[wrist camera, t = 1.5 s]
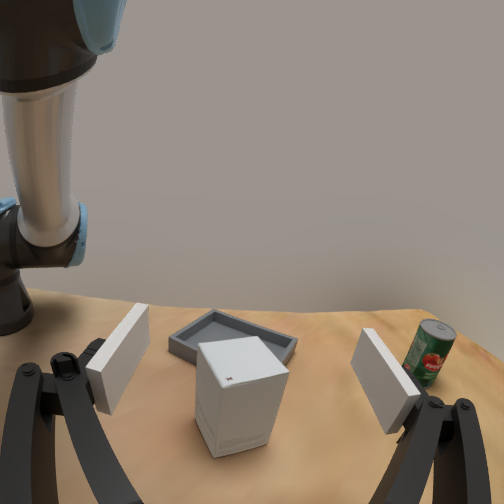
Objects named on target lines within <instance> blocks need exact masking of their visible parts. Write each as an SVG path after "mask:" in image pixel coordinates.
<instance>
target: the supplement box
mask: <svg viewBox="0 0 504 504" xmlns="http://www.w3.org/2000/svg"><path fill="white" fill-rule="evenodd" d="M288 375H289V371H288V370H287V368H286V367H285V366H284V365H283V364H282V363H281V362H280V361H279V360H278V359H277V358H276V356H275V355H274V354H273V353H272V352H271V351H270V350H269V349H268V348H267V346H266V345H265V344H264V343H263V342H262V341H261V340H260V338H259V337H258V336H253V337H245V338H238V339H230V340H223V341H215V342H206V343H198V351H197V368H196V394H195V420H196V422H197V425H198V427H199V429H200V431H201V433H202V435H203V438H204V440H205V442H206V444H207V446H208V448H209V450H210V452H211V454H212V456H213V458H216V457H221V456H225V455H230V454H234V453H238V452H242V451H245V450H249V449H253V448H256V447H259V446H262V445H265V444H267V443H268V441H269V438H270V435H271V432H272V429H273V425H274V422H275V419H276V416H277V413H278V409H279V406H280V403H281V399H282V396H283V393H284V389H285V385H286V382H287V378H288Z"/></svg>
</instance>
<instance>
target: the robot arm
mask: <svg viewBox="0 0 504 504" xmlns="http://www.w3.org/2000/svg"><path fill="white" fill-rule="evenodd" d="M126 1H127V0H0V94H1V95H2V104H3V116H4V125H5V133H6V140H7V147H8V153H9V159H10V163H11V169H12V173H13V177H14V182H15V187H16V191H17V194H18V198H19V202H20V205H16V200H15V198H14V197H9V198H2V199H0V335H6V334H10V333H13V332H16V331H18V330H20V329H22V328H23V327H25V326H26V325H27V324H28V323H29V322H30V321H31V319H32V317H33V314H34V311H33V306H32V301H31V299H30V297H29V295H28V293H27V291H26V288H25V286H24V284H23V282H22V280H21V277H20V271H19V269H21V268H49V267H50V268H51V267H64V268H68V267H71V266H78V265H80V264H81V263H82V262H83V260H84V255H85V248H86V243H85V242H86V237H87V208H86V206H85V205H84V204H80V203H78V202H77V199H76V198H75V196H74V195H73V194H72V193H71V192H70V157H71V136H72V123H73V113H74V103H75V96H76V89H77V82H78V80H79V79H81V78H82V77H83V76H85V75H86V74H87V73H89V72H90V71H91V69H92V68H93V67H94V65H95V63H96V59H97V56H98V55H101V54H103V53H108V52H110V51H112V50H113V48H114V46H115V43H116V39H117V36H118V32H119V28H120V23H121V19H122V15H123V11H124V8H125V5H126ZM149 344H150V337H149V305H146V304H140V303H136V304H135V306H134V307H133V308H132V309H131V310H130V312H129V313H128V314H127V315H126V316H125V318H124V319H123V320H122V321H121V323H120V324H119V325H118V326H117V327H116V329H115V330H114V331H113V332H112V334H111V335H110V336H109V337H108V339H107V340H105V339H101V338H98V339H96V340H94V341H92V342H91V343H90V344H89V345H88V347H87V349H85V350H84V351H83V353H82V354H81V355H80V356H79V357H78V358H77V357H76V356H75V355H74V354H72V353H69V352H61V353H57V354H56V355H54V356H53V357H52V358H51V361H50V364H51V367H52V370H53V374H50V373H42V371H41V368H40V367H39V365H37V364H35V363H25V364H22V365H21V366H20V367H19V368H18V370H17V372H16V376H15V379H14V383H13V387H12V391H11V395H10V399H9V404H8V409H7V414H6V419H5V425H4V431H3V437H2V445H1V454H0V504H59V502H58V493H57V483H56V469H55V415H62V416H64V417H65V421H66V424H67V427H68V430H69V434H70V437H71V440H72V442H73V445H74V448H75V451H76V454H77V456H78V459H79V461H80V464H81V466H82V469H83V471H84V474H85V476H86V478H87V481H88V483H89V485H90V487H91V489H92V491H93V494H94V496H95V498H96V500H97V502H98V504H144V503H143V502H142V500H141V499H140V497H139V496H138V494H137V493H136V491H135V489H134V488H133V486H132V485H131V483H130V481H129V479H128V478H127V476H126V474H125V473H124V471H123V469H122V467H121V465H120V463H119V462H118V460H117V458H116V456H115V454H114V452H113V450H112V448H111V446H110V444H109V442H108V440H107V438H106V435H105V433H104V431H103V429H102V427H101V424H100V422H99V420H98V417H97V415H96V413H95V410H94V408H93V405H94V403H95V405H96V409H97V411H99V412H102V413H105V414H108V415H112V413H113V411H114V409H115V407H116V405H117V404H118V402H119V400H120V398H121V396H122V394H123V392H124V390H125V388H126V386H127V384H128V382H129V381H130V379H131V377H132V375H133V373H134V371H135V369H136V368H137V366H138V364H139V362H140V360H141V358H142V357H143V355H144V353H145V351H146V349H147V347H148V346H149ZM351 365H352V367H353V369H354V371H355V373H356V375H357V377H358V379H359V381H360V383H361V385H362V387H363V389H364V391H365V393H366V395H367V397H368V399H369V401H370V403H371V406H372V408H373V410H374V412H375V414H376V416H377V418H378V420H379V422H380V424H381V426H382V428H383V431H384V433H385V435H386V434H392V433H398V431H399V430H400V428H401V427H402V425H403V426H404V428H405V431H404V432H403V434H402V435H401V437H400V438H399V440H398V441H397V442H396V443H397V444H398V446H397V448H396V450H395V453H394V455H393V457H392V459H391V461H390V464H389V466H388V468H387V470H386V472H385V474H384V476H383V478H382V480H381V482H380V484H379V486H378V487H377V489H376V491H375V493H374V495H373V497H372V498H371V500H370V502H369V503H368V504H419V502H420V499H421V497H422V494H423V491H424V488H425V486H426V483H427V480H428V476H429V473H430V470H431V467H432V463H433V460H434V481H433V501H432V504H491V491H490V481H489V473H488V466H487V460H486V454H485V449H484V444H483V439H482V434H481V430H480V425H479V421H478V417H477V414H476V410H475V406H474V404H473V403H472V402H471V401H470V400H468V399H465V398H460V399H458V400H457V401H456V403H455V404H454V405H445V404H444V402H443V401H442V400H441V399H440V398H438V397H435V396H429V395H428V394H427V392H426V391H425V390H424V388H423V387H422V385H421V384H420V383H419V381H418V380H417V379H416V378H415V376H414V375H413V373H412V372H411V371H410V370H409V369H407V368H406V367H401V365H400V364H399V363H398V361H397V360H396V359H395V357H394V356H393V355H392V353H391V352H390V350H389V349H388V348H387V346H386V345H385V344H384V342H383V341H382V340H381V338H380V337H379V336H378V335H377V333H376V332H375V331H374V329H373V328H362V331H361V334H360V337H359V340H358V343H357V346H356V349H355V352H354V355H353V358H352V360H351Z"/></svg>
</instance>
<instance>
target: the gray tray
mask: <svg viewBox="0 0 504 504" xmlns="http://www.w3.org/2000/svg"><path fill="white" fill-rule="evenodd" d="M253 336H258V337H259V338H260V340H261V341H262V342H263V343H264V344H265V345H266V346H267V348H268V349H269V350H270V351H271V352H272V353H273V354H274V355H275V356H276V358H277V359H278V360H279V361H280V362H281V363H282V364H283V365H284V366H286V364H287V363H288V361H289V360H290V358H291V357H292V355H293V353H294V352H295V348H296V344H297V340H298V339H297V338H294V337H291V336H288V335H285V334H282V333H279V332H276V331H273V330H270V329H267V328H265V327H262V326H259V325H256V324H253V323H250V322H248V321H245V320H242V319H239V318H237V317H234V316H231V315H229V314H226V313H223V312H221V311H218V310H215V309H212V310H211V311H209V312H208V313H206V314H204V315H203V316H201V317H200V318H198V319H197V320H195V321H193V322H192V323H190V324H189V325H187V326H185V327H184V328H182V329H181V330H179V331H177V332H176V333H174V334H173V335H171V336H169V352H171V353H173V354H175V355H177V356H179V357H181V358H183V359H185V360H187V361H188V362H190V363H192V364H195V365H197V351H198V343H206V342H215V341H223V340H230V339H238V338H245V337H253Z"/></svg>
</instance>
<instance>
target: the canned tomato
mask: <svg viewBox="0 0 504 504" xmlns="http://www.w3.org/2000/svg"><path fill="white" fill-rule="evenodd" d="M456 336H457V334H456V331H455V330H454V329H453V328H452V327H450V326H449V325H447V324H446V323H444V322H441V321H438V320H435V319H423V320H422V321H421V322H420V325H419V328H418V330H417V333H416V335H415V337H414V340H413V342H412V344H411V347H410V349H409V351H408V354H407V356H406V358H405V360H404V362H403V365H402V367H406V368H407V369H409V370H410V371H411V372H412V373H413V375H414V376H415V378H416V379H417V380H418V381H419V383H420V384H421V385H422V387H423V388H424V389H427V388H429V387H431V386H432V384H433V382H434V380H435V379H436V377H437V375H438V373H439V371H440V369H441V367H442V365H443V364H444V361H445V360H446V357H447V355H448V353H449V351H450V349H451V347H452V345H453V342H454V340H455V338H456Z"/></svg>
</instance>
